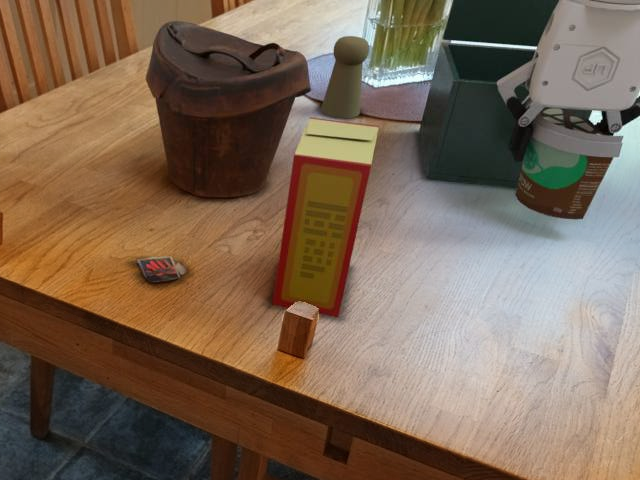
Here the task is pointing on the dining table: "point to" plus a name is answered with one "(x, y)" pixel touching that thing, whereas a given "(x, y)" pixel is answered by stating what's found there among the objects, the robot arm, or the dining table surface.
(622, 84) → the robot arm
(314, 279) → the baking soda box
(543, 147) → the food container
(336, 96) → the olive pawn figure
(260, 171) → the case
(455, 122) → the waste bin
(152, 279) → the matchbox
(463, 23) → the bin lid
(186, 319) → the dining table surface
